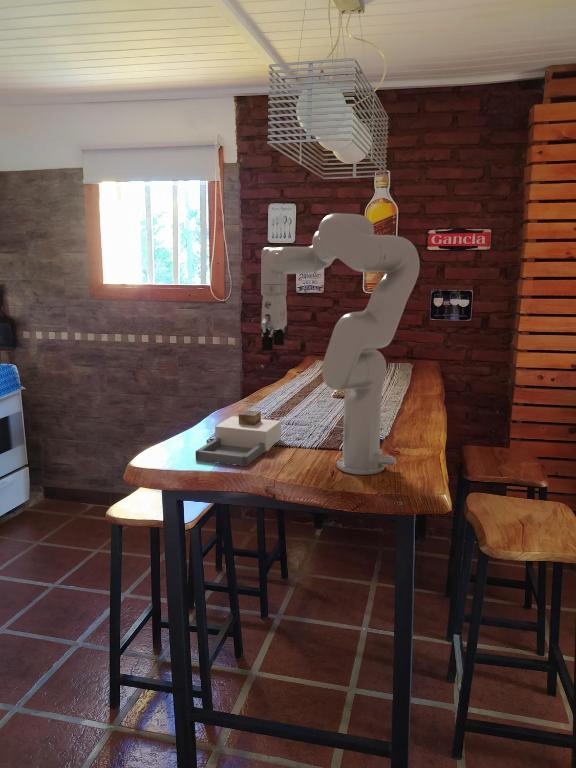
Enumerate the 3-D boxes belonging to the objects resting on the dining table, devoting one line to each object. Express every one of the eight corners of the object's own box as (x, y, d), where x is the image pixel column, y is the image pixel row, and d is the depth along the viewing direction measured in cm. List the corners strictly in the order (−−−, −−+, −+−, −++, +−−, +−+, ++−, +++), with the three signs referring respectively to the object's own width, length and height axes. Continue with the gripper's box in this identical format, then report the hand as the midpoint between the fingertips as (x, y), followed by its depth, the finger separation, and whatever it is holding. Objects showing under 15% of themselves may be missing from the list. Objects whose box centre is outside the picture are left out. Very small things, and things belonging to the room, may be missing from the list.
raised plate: (280, 439, 182) (280, 420, 181) (266, 452, 171) (266, 431, 169) (232, 434, 187) (232, 416, 186) (215, 445, 176) (215, 426, 175)
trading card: (351, 428, 193) (324, 443, 178) (351, 430, 193) (324, 445, 178) (322, 423, 199) (293, 437, 184) (322, 425, 199) (293, 439, 184)
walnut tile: (260, 421, 180) (260, 411, 179) (254, 425, 175) (254, 415, 175) (245, 419, 182) (245, 410, 181) (238, 424, 177) (238, 414, 176)
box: (264, 451, 171) (264, 443, 170) (246, 466, 159) (246, 457, 158) (216, 446, 176) (216, 437, 175) (195, 460, 164) (195, 451, 163)
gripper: (275, 292, 168) (275, 353, 171) (295, 288, 184) (294, 344, 187) (250, 291, 170) (250, 351, 174) (272, 287, 186) (271, 342, 190)
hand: (273, 347), depth 181 cm, fingers open, 9 cm apart
